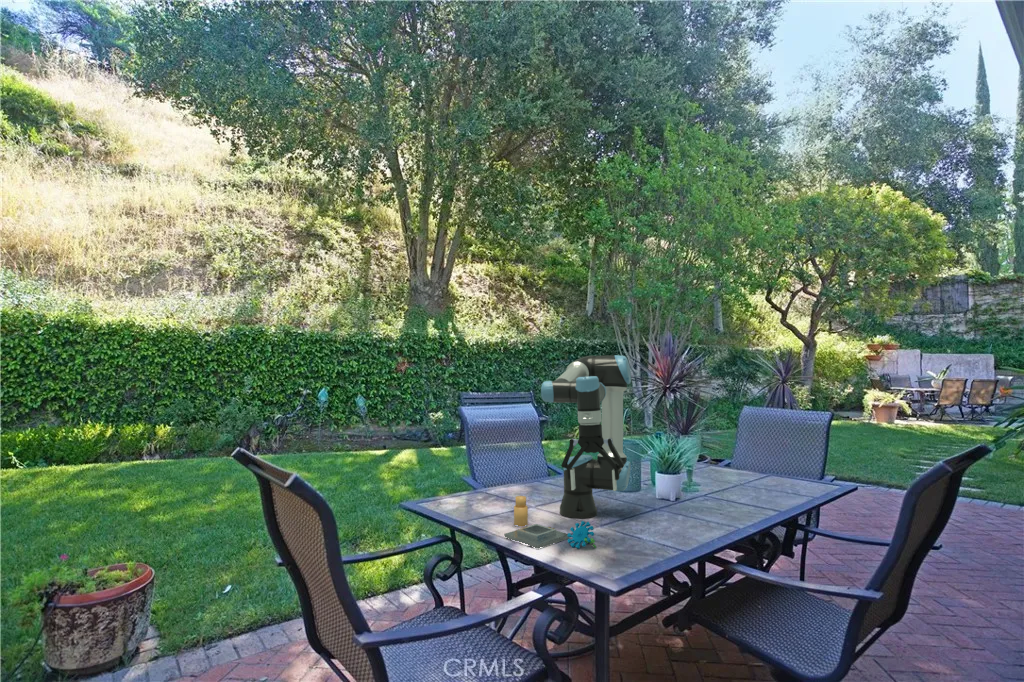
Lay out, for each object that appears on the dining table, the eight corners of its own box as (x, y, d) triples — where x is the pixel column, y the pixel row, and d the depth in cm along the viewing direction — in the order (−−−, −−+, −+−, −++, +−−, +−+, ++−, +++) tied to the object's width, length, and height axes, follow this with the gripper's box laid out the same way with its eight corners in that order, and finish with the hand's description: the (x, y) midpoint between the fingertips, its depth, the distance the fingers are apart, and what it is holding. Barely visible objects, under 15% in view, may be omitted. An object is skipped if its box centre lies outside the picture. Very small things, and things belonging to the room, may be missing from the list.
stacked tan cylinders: (520, 522, 208) (520, 494, 208) (530, 525, 204) (530, 497, 205) (511, 525, 204) (511, 497, 205) (520, 528, 201) (520, 499, 201)
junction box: (536, 528, 200) (535, 520, 200) (569, 538, 188) (569, 529, 188) (504, 538, 189) (504, 529, 189) (537, 549, 177) (537, 540, 177)
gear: (560, 538, 183) (578, 515, 187) (569, 548, 186) (586, 525, 189) (581, 552, 174) (599, 528, 177) (590, 562, 177) (608, 538, 180)
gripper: (549, 425, 176) (553, 491, 175) (627, 424, 168) (631, 493, 167) (555, 423, 183) (559, 486, 182) (630, 421, 175) (634, 487, 174)
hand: (594, 489), depth 174 cm, fingers open, 13 cm apart
